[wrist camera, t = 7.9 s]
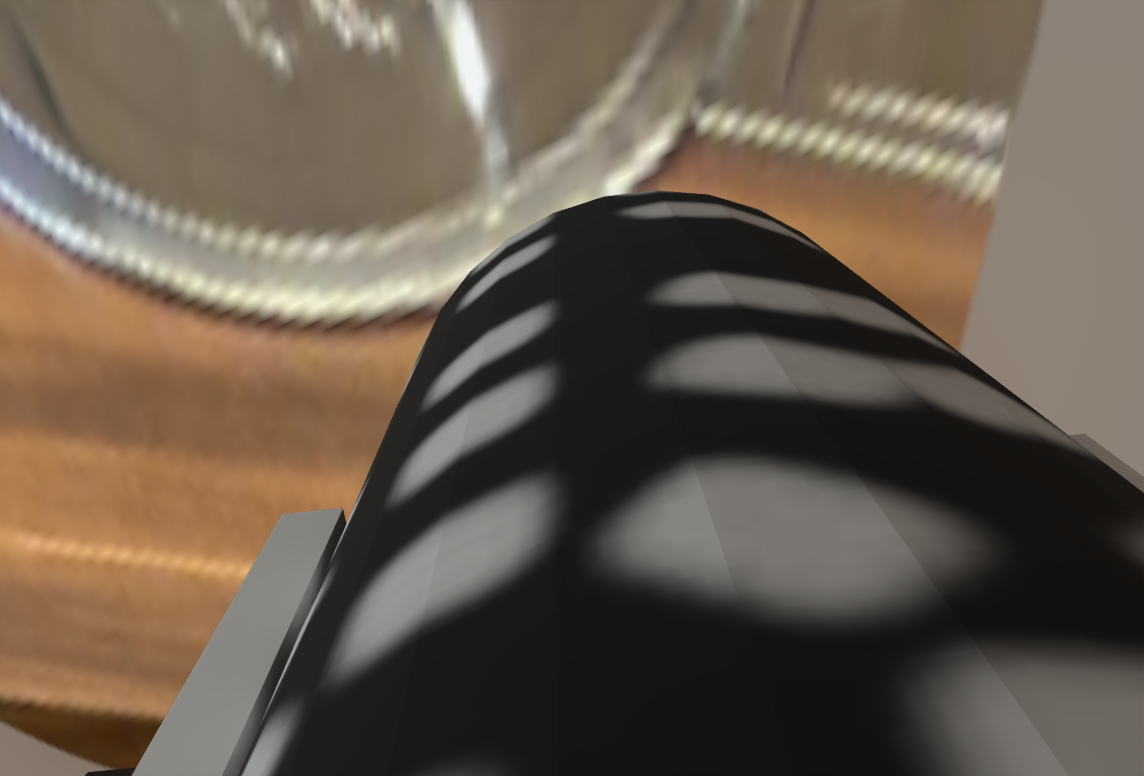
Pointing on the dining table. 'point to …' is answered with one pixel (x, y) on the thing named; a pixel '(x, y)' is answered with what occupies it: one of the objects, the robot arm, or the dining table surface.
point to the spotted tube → (713, 535)
